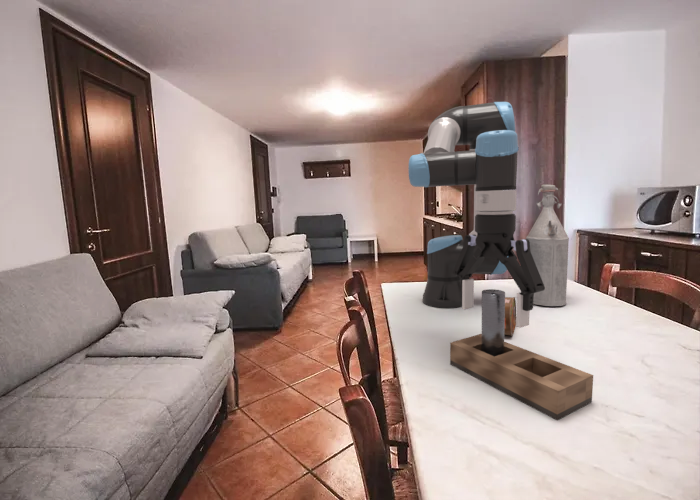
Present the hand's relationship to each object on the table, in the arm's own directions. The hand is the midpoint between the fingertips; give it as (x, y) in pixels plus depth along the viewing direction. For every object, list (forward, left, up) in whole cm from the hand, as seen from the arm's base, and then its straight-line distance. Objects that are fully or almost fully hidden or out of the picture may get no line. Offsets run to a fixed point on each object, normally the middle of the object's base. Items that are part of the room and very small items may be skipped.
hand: (493, 316), depth 74 cm
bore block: (+5, 0, -12) cm, 13 cm away
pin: (0, 0, -11) cm, 11 cm away
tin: (-14, +23, -12) cm, 29 cm away
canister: (-25, +56, -12) cm, 62 cm away
